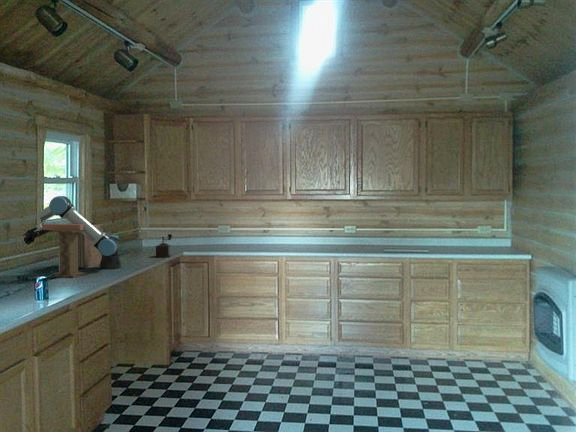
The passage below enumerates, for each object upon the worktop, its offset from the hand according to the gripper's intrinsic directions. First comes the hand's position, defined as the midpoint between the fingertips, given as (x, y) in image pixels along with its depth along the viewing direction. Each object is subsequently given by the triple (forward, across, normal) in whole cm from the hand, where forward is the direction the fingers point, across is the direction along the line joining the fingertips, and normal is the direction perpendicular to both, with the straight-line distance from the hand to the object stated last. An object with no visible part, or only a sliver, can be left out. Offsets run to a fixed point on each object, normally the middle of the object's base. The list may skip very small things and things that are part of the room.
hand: (48, 224), depth 382 cm
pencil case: (+6, 0, -7) cm, 10 cm away
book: (-17, -41, -29) cm, 53 cm away
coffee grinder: (+4, -107, -41) cm, 115 cm away
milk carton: (-17, -17, -29) cm, 37 cm away
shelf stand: (-3, 0, -36) cm, 37 cm away
